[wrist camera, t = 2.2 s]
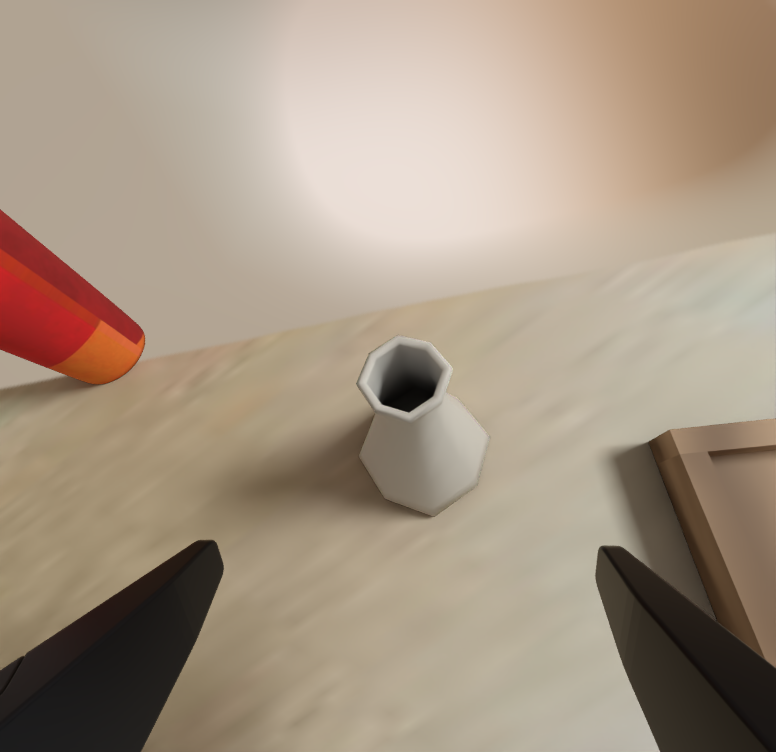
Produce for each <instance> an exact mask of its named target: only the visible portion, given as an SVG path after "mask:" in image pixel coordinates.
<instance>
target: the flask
mask: <svg viewBox="0 0 776 752" xmlns="http://www.w3.org/2000/svg"><path fill="white" fill-rule="evenodd" d="M452 371H453V369H452V367H451V365H450V364H449V363H448V362H447V361H446V360H445V358H444V357H443V356H442V355H441V354H440V353H439V351H438V350H437V349H436V348H435V347H434V346H433V344H432V343H431V342H427V341H422V340H418V339H414V338H410V337H405V336H401V335H397V336H395V337H394V338H392V339H390V340H389V341H387V342H386V343H384V344H383V345H381V346H380V347H378V348H377V349H375V350H373V351H372V352H370V353H369V355H368V357H367V359H366V362H365V364H364V366H363V369H362V371H361V374H360V376H359V378H358V381H357V383H356V385H357V387H358V388H359V390H360V391H361V393H362V394H363V396H364V397H365V399H366V400H367V401H368V403H369V404H370V406H371V407H372V409H373V410H374V412H375V416H374V419H373V421H372V424H371V426H370V429H369V431H368V434H367V437H366V439H365V442H364V444H363V447H362V449H361V452H360V454H359V458H360V459H361V461H362V463H363V464H364V466H365V468H366V469H367V471H368V472H369V474H370V476H371V477H372V479H373V481H374V482H375V484H376V485H377V487H378V489H379V490H380V492H381V494H382V495H383V497H384V499H387V500H390V501H392V502H395V503H398V504H400V505H403V506H406V507H408V508H411V509H414V510H417V511H419V512H422V513H425V514H427V515H430V516H433V517H435V516H436V515H438V514H439V513H440V512H442V511H443V510H445V509H446V508H447V507H449V506H450V505H451V504H453V503H454V502H456V501H457V500H458V499H460V498H461V497H463V496H464V495H465V494H467V493H468V492H469V491H471V490H472V489H474V488H475V487H476V486H477V485H478V481H479V477H480V473H481V470H482V466H483V462H484V458H485V454H486V451H487V447H488V443H489V439H490V436H489V435H488V434H487V433H486V431H485V430H484V429H483V428H482V426H481V425H480V424H479V423H478V422H477V420H476V419H475V418H474V417H473V416H472V414H471V413H470V412H469V411H468V410H467V408H466V407H465V406H464V405H463V403H462V402H461V401H460V400H459V399H458V398H456V397H455V396H453V395H450V394H448V393H447V392H446V390H447V387H448V384H449V381H450V377H451V374H452Z"/></svg>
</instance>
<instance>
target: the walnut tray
mask: <svg viewBox="0 0 776 752" xmlns="http://www.w3.org/2000/svg"><path fill="white" fill-rule="evenodd" d="M649 445H650V447H651V450H652V453H653V455H654V458H655V460H656V463H657V466H658V468H659V471H660V473H661V476H662V479H663V481H664V484H665V486H666V489H667V492H668V494H669V497H670V499H671V502H672V505H673V507H674V510H675V512H676V515H677V517H678V520H679V523H680V525H681V528H682V530H683V533H684V536H685V538H686V541H687V543H688V546H689V549H690V551H691V554H692V556H693V559H694V562H695V564H696V567H697V569H698V572H699V575H700V577H701V580H702V582H703V585H704V588H705V590H706V593H707V595H708V598H709V601H710V603H711V606H712V608H713V611H714V614H715V616H716V619H717V621H718V623H720V624H721V625H722V626H723V627H725V628H726V629H727V630H729V631H730V632H731V633H732V634H734V635H735V636H736V637H737V638H739V639H740V640H741V641H743V642H744V643H745V644H746V645H748V646H749V647H750V648H751V649H753V650H754V651H755V652H757V653H758V654H759V655H760V656H762V657H763V658H764V659H765V660H767V661H768V662H769V663H771V664H772V665H773V666H774V667H776V418H775V419H766V420H756V421H747V422H738V423H728V424H719V425H709V426H700V427H691V428H681V429H672V430H668V431H667V432H665V433H663V434H661V435H659V436H658V437H656V438H654V439H652V440H651V441H649Z"/></svg>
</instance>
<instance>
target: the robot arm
mask: <svg viewBox="0 0 776 752" xmlns="http://www.w3.org/2000/svg"><path fill="white" fill-rule="evenodd" d="M223 570H224V565H223V561H222V558H221V555H220V552H219V549H218V546H217V543H216V542H215V541H213V540H198V541H196V542H194V543H193V544H191V545H190V546H188V547H187V548H185V549H184V550H182V551H181V552H179V553H178V554H176V555H175V556H173V557H172V558H170V559H168V560H167V561H165V562H164V563H162V564H161V565H159V566H158V567H156V568H155V569H153V570H152V571H150V572H149V573H147V574H146V575H144V576H143V577H141V578H140V579H138V580H137V581H135V582H134V583H132V584H131V585H129V586H128V587H126V588H125V589H123V590H122V591H120V592H118V593H117V594H115V595H114V596H112V597H111V598H109V599H108V600H106V601H105V602H103V603H102V604H100V605H99V606H97V607H96V608H94V609H93V610H91V611H90V612H88V613H87V614H85V615H84V616H82V617H81V618H79V619H78V620H76V621H75V622H73V623H72V624H70V625H68V626H67V627H65V628H64V629H62V630H61V631H59V632H58V633H56V634H55V635H53V636H52V637H50V638H49V639H47V640H46V641H44V642H43V643H41V644H40V645H38V646H37V647H35V648H34V649H32V650H31V651H29V652H28V653H27V654H26V655H25V656H22V657H20V658H18V659H17V660H15V661H14V662H12V663H11V664H9V665H8V666H6V667H5V668H3V669H2V670H0V752H141V751H142V749H143V747H144V745H145V743H146V741H147V739H148V737H149V735H150V733H151V731H152V729H153V727H154V725H155V723H156V721H157V719H158V717H159V715H160V713H161V711H162V709H163V707H164V705H165V703H166V701H167V699H168V697H169V695H170V693H171V691H172V689H173V687H174V685H175V683H176V681H177V679H178V677H179V675H180V673H181V671H182V669H183V667H184V665H185V663H186V661H187V659H188V657H189V655H190V653H191V650H192V648H193V646H194V644H195V642H196V640H197V638H198V635H199V633H200V631H201V628H202V626H203V623H204V621H205V618H206V616H207V613H208V611H209V608H210V605H211V603H212V600H213V598H214V595H215V593H216V590H217V588H218V585H219V583H220V580H221V578H222V575H223ZM595 576H596V583H597V587H598V590H599V593H600V596H601V600H602V603H603V606H604V609H605V612H606V615H607V618H608V621H609V624H610V627H611V630H612V633H613V636H614V639H615V643H616V646H617V649H618V652H619V655H620V658H621V660H622V663H623V666H624V669H625V671H626V673H627V676H628V678H629V681H630V683H631V685H632V688H633V690H634V692H635V695H636V697H637V699H638V701H639V704H640V706H641V708H642V711H643V713H644V715H645V718H646V720H647V722H648V725H649V727H650V729H651V731H652V734H653V736H654V738H655V741H656V743H657V745H658V748H659V750H660V752H776V667H774V666H773V665H772V664H771V663H769V662H768V661H767V660H765V659H764V658H763V657H762V656H760V655H759V654H758V653H757V652H755V651H754V650H753V649H751V648H750V647H749V646H748V645H746V644H745V643H744V642H743V641H741V640H740V639H739V638H737V637H736V636H735V635H734V634H732V633H731V632H730V631H729V630H727V629H726V628H725V627H723V626H722V625H721V624H720V623H718V622H717V621H716V620H715V619H713V618H712V617H711V616H709V615H708V614H707V613H706V612H704V611H703V610H702V609H700V608H699V607H698V606H697V605H695V604H694V603H693V602H692V601H690V600H689V599H688V598H686V597H685V596H684V595H683V594H681V593H680V592H679V591H678V590H676V589H675V588H674V587H672V586H671V585H670V584H669V583H667V582H666V581H665V580H664V579H662V578H661V577H660V576H658V575H657V574H656V573H655V572H653V571H652V570H651V569H650V568H648V567H647V566H646V565H644V564H643V563H642V562H641V561H639V560H638V559H637V558H636V557H634V556H633V555H632V554H630V553H629V552H628V551H627V550H625V549H624V548H622V547H620V546H601V547H600V548H599V550H598V556H597V565H596V574H595Z"/></svg>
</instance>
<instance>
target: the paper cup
mask: <svg viewBox="0 0 776 752" xmlns="http://www.w3.org/2000/svg"><path fill="white" fill-rule="evenodd" d="M144 345H145V335H144V332H143V330H142V329H141V328H140V326H139V325H138V324H136V322H134V321H133V320H132V319H131V318H130V317H129V316H128V315H126V314H125V313H124V312H123V311H122V310H121V309H119V308H118V307H117V306H116V305H115V304H114V303H112V302H111V301H110V300H109V299H108V298H106V297H105V296H104V295H103V294H102V293H100V292H99V291H98V290H97V289H96V288H94V287H93V286H92V285H91V284H90V283H88V282H87V281H86V280H85V279H83V278H82V277H81V276H80V275H79V274H78V273H76V272H75V271H74V270H73V269H71V268H70V267H69V266H68V265H67V264H66V263H64V262H63V261H62V260H61V259H59V258H58V257H57V256H56V255H55V254H53V253H52V252H51V251H50V250H49V249H47V248H46V247H45V246H44V245H43V244H41V243H40V242H39V241H38V240H36V239H35V238H34V237H33V236H32V235H31V234H29V233H28V232H27V231H26V230H24V229H23V228H22V227H21V226H20V225H18V224H17V223H16V222H15V221H14V220H12V219H11V218H10V217H9V216H8V215H6V214H5V213H4V212H3V211H1V210H0V350H3V351H5V352H8V353H11V354H13V355H16V356H18V357H21V358H23V359H26V360H28V361H31V362H34V363H36V364H39V365H41V366H44V367H46V368H49V369H52V370H54V371H57V372H59V373H62V374H65V375H67V376H70V377H73V378H76V379H78V380H81V381H84V382H87V383H91V384H105V383H109V382H112V381H114V380H116V379H118V378H120V377H121V376H123V375H124V374H126V373H127V372H128V371H129V370H130V369H131V368H132V367H133V366H134V365H135V364H136V362H137V361H138V360H139V358H140V356H141V354H142V352H143V349H144Z"/></svg>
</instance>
